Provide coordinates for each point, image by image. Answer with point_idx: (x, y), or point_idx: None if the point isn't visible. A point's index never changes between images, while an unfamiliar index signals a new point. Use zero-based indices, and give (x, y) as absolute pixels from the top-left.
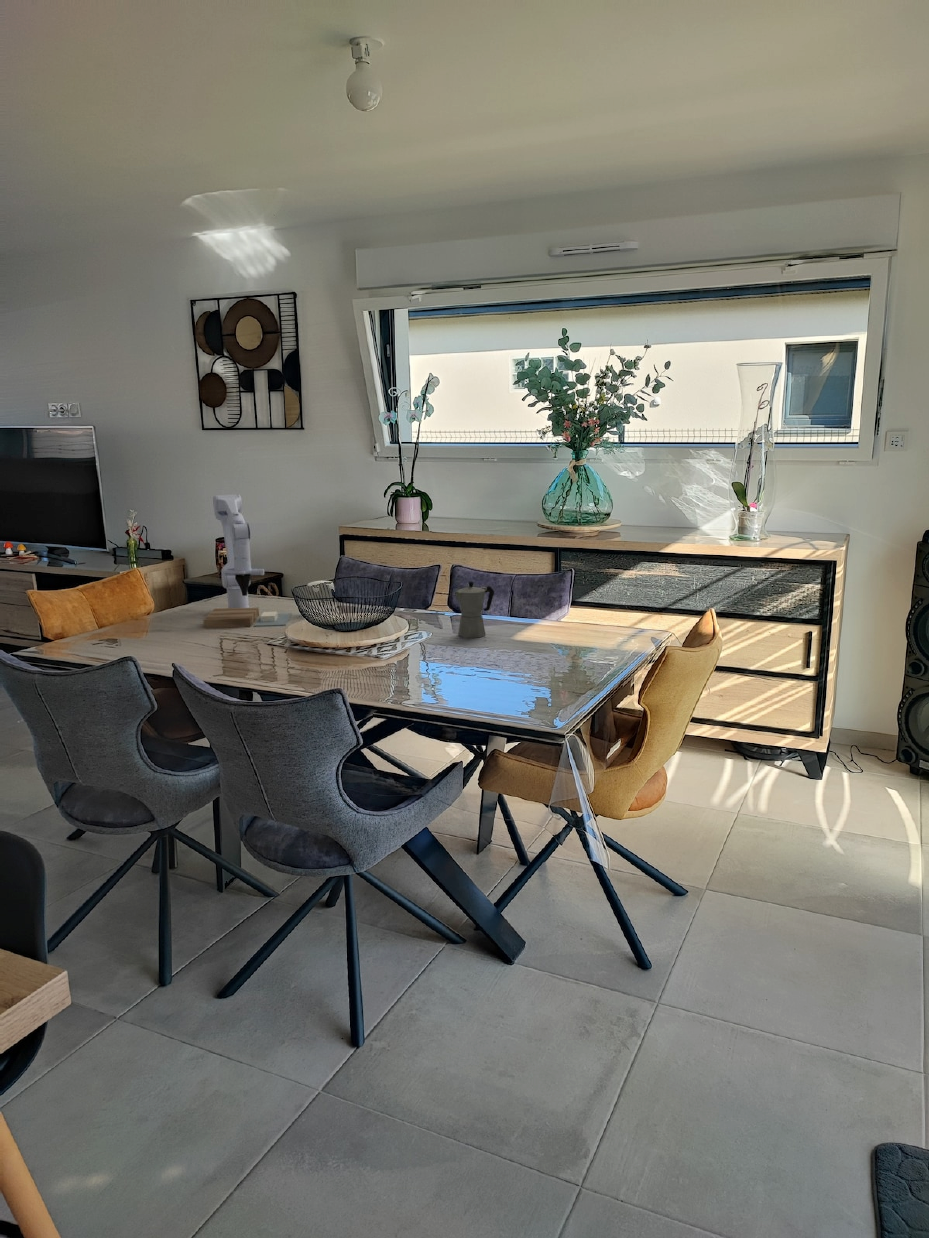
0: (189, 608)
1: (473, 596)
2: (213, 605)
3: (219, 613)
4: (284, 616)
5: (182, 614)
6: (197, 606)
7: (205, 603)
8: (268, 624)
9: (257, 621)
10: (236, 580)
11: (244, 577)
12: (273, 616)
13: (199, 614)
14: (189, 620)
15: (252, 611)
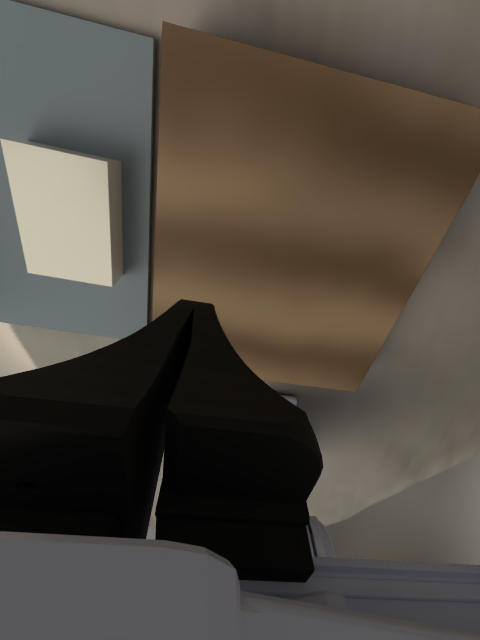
0: (393, 479)
1: None
2: (318, 492)
3: (358, 287)
4: (11, 263)
5: (441, 424)
6: (365, 491)
7: (336, 511)
8: (43, 33)
9: (143, 177)
10: (287, 403)
11: (74, 418)
12: (11, 139)
13: (388, 411)
14: (457, 334)
15: (171, 281)
